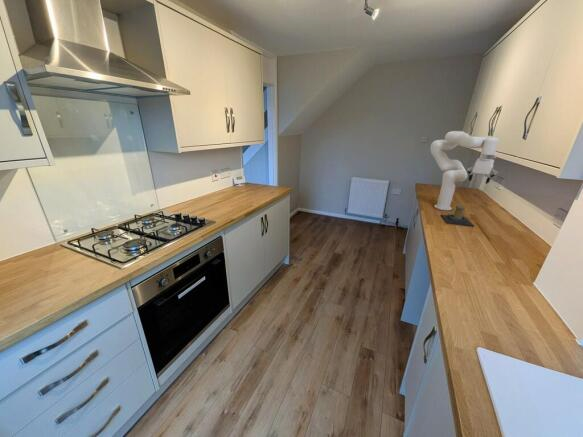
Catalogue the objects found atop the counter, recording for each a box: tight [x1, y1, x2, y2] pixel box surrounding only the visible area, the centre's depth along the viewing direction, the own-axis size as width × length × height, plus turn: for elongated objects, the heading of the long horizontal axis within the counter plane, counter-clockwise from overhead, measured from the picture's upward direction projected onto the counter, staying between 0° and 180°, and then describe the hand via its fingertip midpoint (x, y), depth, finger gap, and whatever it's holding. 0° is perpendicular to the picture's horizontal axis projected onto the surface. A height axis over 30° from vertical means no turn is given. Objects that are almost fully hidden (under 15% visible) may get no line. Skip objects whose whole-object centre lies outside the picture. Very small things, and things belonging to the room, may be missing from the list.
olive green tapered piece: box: [452, 204, 466, 219], centre depth 169 cm, size 6×6×11 cm
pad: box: [440, 213, 474, 228], centre depth 171 cm, size 16×16×3 cm
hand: (478, 182), depth 166 cm, fingers open, 9 cm apart
